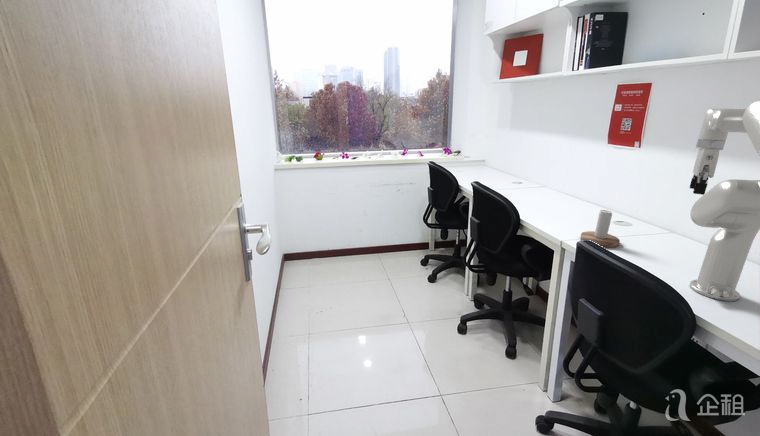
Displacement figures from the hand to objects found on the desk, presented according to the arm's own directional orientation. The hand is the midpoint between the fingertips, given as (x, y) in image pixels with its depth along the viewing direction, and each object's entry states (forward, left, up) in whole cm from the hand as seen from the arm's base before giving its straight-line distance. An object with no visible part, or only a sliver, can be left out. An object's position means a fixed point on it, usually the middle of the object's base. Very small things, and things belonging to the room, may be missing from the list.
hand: (696, 191), depth 138 cm
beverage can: (+6, +27, -26) cm, 38 cm away
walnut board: (+6, +27, -28) cm, 40 cm away
